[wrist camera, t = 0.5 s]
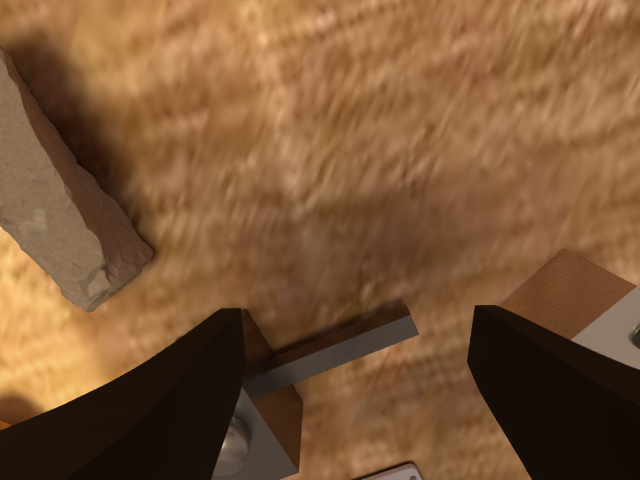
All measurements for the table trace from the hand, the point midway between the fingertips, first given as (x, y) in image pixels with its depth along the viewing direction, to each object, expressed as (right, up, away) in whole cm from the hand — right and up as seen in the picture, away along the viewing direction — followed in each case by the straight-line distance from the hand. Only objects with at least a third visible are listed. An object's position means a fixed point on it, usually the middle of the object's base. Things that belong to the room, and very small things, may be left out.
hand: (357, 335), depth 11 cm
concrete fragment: (-15, +6, +9) cm, 18 cm away
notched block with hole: (+13, -1, +11) cm, 17 cm away
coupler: (-2, -4, +12) cm, 12 cm away
